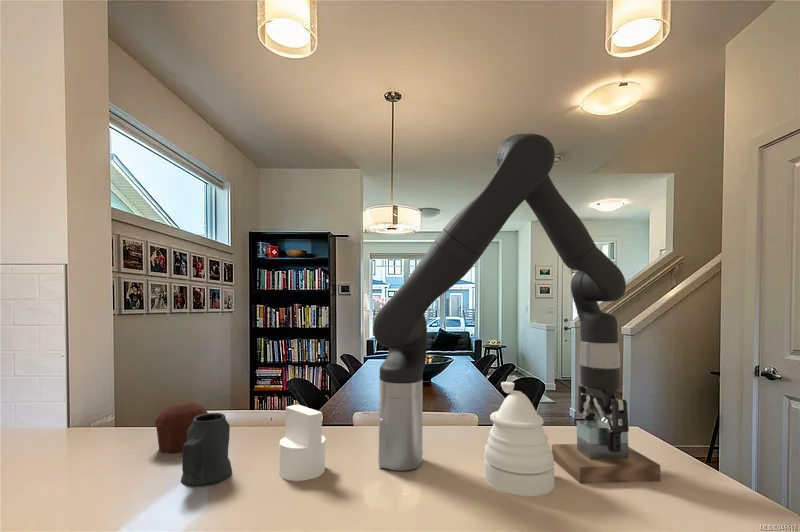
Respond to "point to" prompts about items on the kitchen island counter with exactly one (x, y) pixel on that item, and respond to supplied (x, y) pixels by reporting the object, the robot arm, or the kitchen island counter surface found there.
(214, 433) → the mug
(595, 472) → the walnut stand
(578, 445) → the block
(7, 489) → the kitchen island counter surface
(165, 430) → the muffin
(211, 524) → the kitchen island counter surface
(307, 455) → the base with upright slab
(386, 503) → the kitchen island counter surface
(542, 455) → the honey pot
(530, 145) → the robot arm
